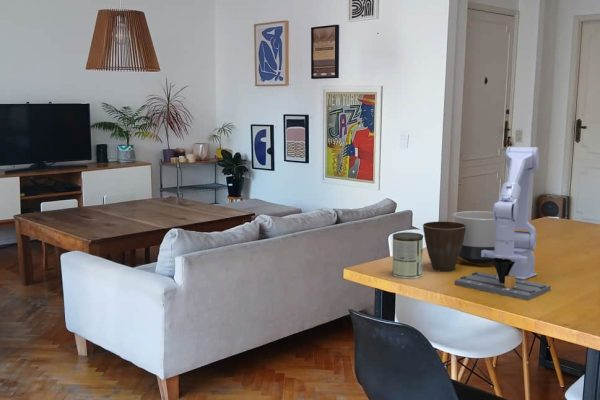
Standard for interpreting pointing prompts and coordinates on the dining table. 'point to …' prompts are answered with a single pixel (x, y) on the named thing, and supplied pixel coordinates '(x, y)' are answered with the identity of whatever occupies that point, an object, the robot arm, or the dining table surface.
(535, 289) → the console
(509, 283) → the orange fader knob
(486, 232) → the planter
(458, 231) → the plant pot
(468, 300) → the dining table surface
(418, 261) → the coffee can
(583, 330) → the dining table surface
